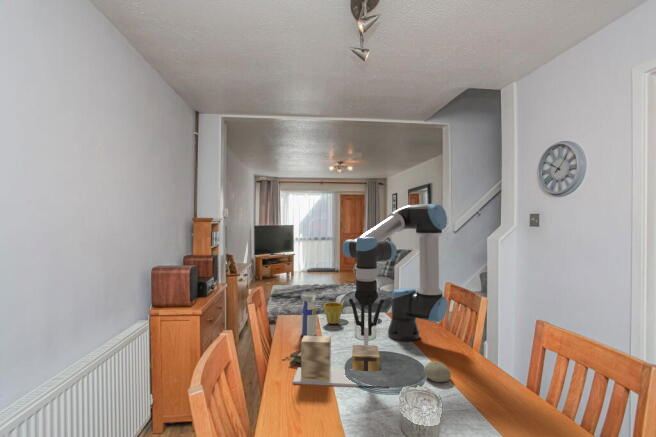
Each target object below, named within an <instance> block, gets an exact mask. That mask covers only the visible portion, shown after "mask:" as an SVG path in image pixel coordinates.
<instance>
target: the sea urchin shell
mask: <svg viewBox="0 0 656 437" xmlns="http://www.w3.org/2000/svg"><path fill="white" fill-rule="evenodd" d="M424 373H425V374H426V376H425V377H426V378H427V379H429V380H431V381H433V382H435V383H445V382H447V381H450V380H451V377H452V376H451V370H450V369H449V368H448V367H447V366H446V365H445V364H444V363H443V362H440V361H435V360H434V361H430V362H428V363H427V364H426V365H425V366H424V368H423V374H424ZM425 374H424V375H425Z"/></svg>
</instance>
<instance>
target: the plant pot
mask: <svg viewBox="0 0 656 437" xmlns="http://www.w3.org/2000/svg"><path fill="white" fill-rule="evenodd" d="M343 307H344V306H343V304H342V303H340V302H333V301H331V302H326V303H324V305H323V310H324V312H325V316H326V322H327V323H328V324H329V325H330V324H332V325H336V324H339V322H340V320H341V316H342V312H343V309H344V308H343Z"/></svg>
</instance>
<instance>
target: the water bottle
mask: <svg viewBox="0 0 656 437" xmlns="http://www.w3.org/2000/svg"><path fill="white" fill-rule="evenodd" d="M315 289H316V286H314V285H313V284H312V286H311V287H310V292H309V293H303V294H301V296H300V299H301V301H302V306H301V309H302V315H301V323H300V324H301V327H300V335H301V336H303V337H304V336H317V307H316V304H315V301H317V300H318V296H317V294H316V293H311V292H315Z"/></svg>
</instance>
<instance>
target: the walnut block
mask: <svg viewBox="0 0 656 437" xmlns="http://www.w3.org/2000/svg"><path fill="white" fill-rule="evenodd" d="M351 348H352V352H351V353H352V355H351V357H352V358H351V359H352V362H351V363H352V364H351V370H361V371H381V367H380V364H381V361H380V359H381V358H380V357H381V356H380V351H379V347H378V345H369V344H368V346H364V344H352V347H351Z"/></svg>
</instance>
